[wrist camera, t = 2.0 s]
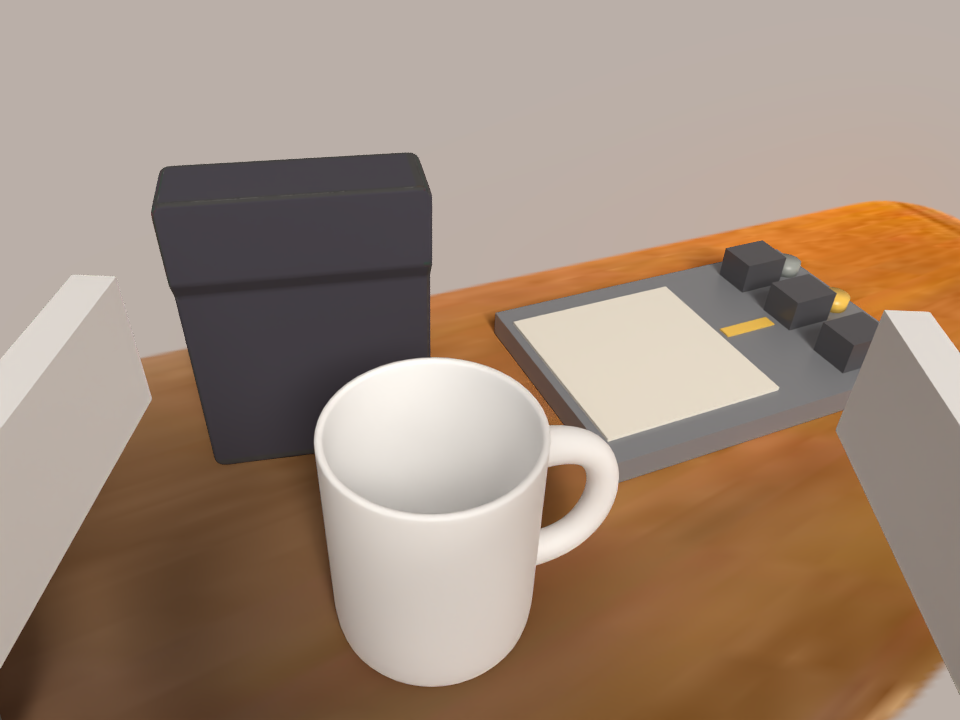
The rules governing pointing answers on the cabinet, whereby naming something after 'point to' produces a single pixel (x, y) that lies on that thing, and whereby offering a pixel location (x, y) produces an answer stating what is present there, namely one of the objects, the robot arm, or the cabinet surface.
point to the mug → (445, 512)
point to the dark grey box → (293, 286)
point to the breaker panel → (693, 356)
